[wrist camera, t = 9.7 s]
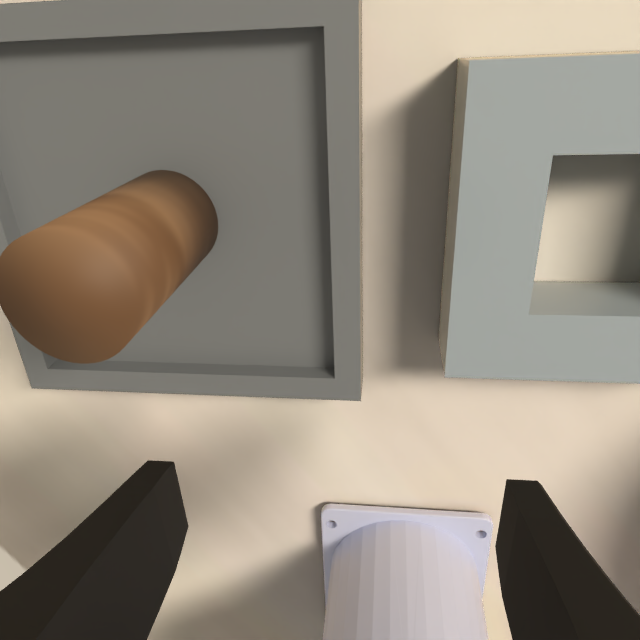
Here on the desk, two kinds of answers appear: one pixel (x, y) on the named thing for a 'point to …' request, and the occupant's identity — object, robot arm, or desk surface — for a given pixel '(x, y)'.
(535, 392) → the desk surface
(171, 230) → the dowel
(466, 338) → the square hole block
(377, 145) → the desk surface
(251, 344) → the tray
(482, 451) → the desk surface
